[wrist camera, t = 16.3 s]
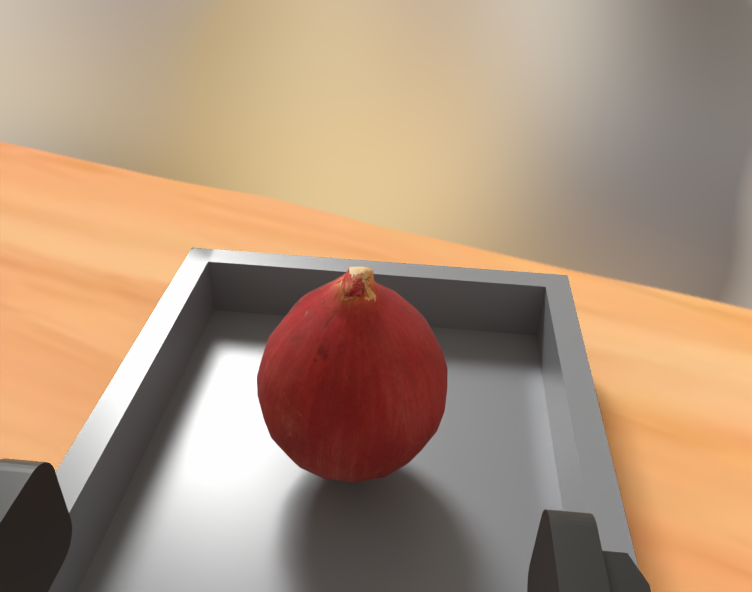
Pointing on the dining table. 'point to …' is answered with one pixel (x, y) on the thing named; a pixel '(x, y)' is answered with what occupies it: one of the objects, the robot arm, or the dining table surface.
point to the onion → (352, 380)
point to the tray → (322, 496)
